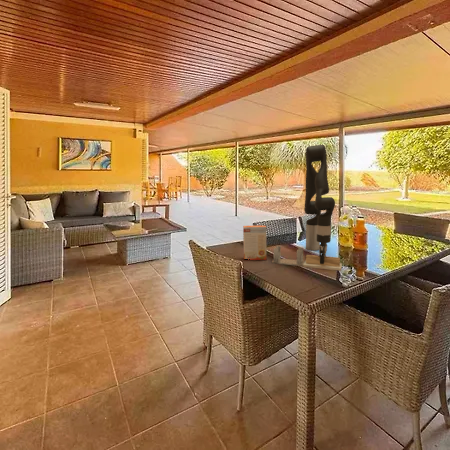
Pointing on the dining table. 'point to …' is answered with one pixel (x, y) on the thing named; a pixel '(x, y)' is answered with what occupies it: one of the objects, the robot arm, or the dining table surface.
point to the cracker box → (254, 242)
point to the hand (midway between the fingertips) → (322, 261)
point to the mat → (323, 266)
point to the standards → (286, 261)
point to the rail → (327, 260)
